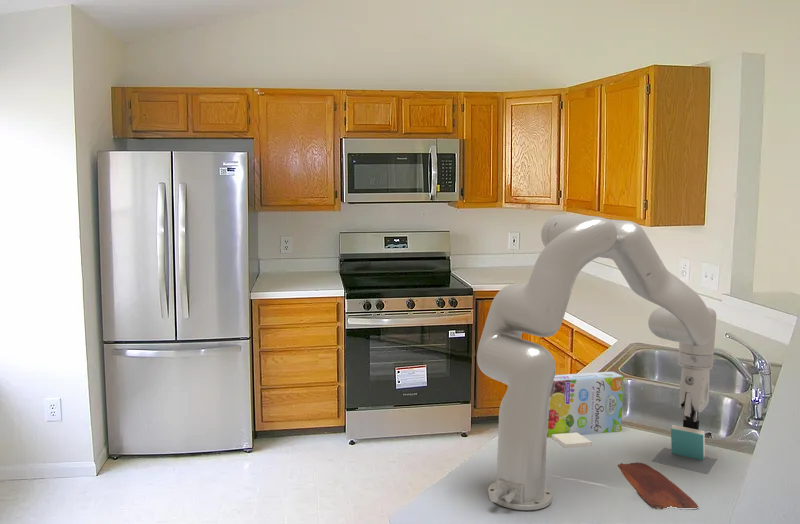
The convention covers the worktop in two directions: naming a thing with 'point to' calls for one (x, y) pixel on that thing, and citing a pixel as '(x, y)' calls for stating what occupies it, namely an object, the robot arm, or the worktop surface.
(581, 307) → the worktop surface
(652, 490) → the wooden tablet
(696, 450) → the tile
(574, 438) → the tile
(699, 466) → the mat
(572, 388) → the snack box
